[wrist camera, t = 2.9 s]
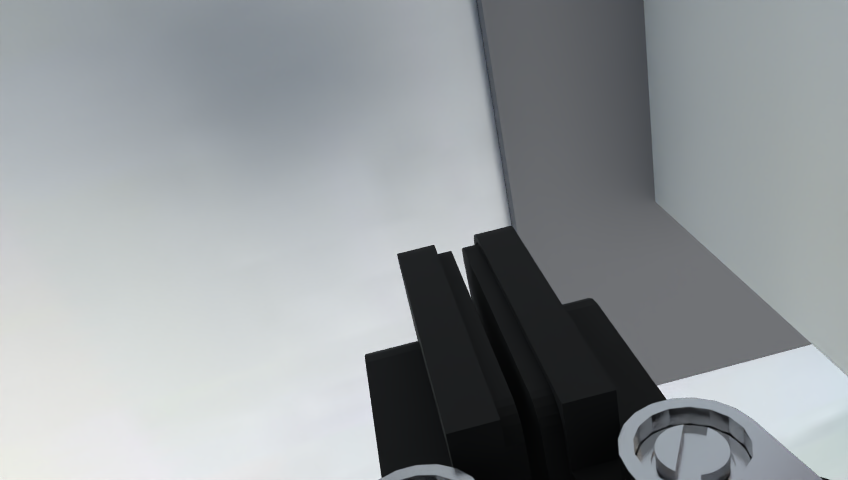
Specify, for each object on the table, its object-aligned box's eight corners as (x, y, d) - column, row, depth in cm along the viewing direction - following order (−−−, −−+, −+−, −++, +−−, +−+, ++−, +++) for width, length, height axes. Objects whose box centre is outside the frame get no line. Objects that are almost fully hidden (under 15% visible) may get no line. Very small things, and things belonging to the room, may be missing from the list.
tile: (635, -153, 17) (933, -170, 9) (718, -172, 17) (1085, -204, 9) (655, 201, 21) (874, 401, 13) (722, 184, 22) (980, 372, 14)
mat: (454, -139, 17) (460, -139, 17) (1101, -283, 18) (1126, -288, 18) (539, 402, 25) (545, 415, 24) (998, 281, 26) (1013, 290, 25)
